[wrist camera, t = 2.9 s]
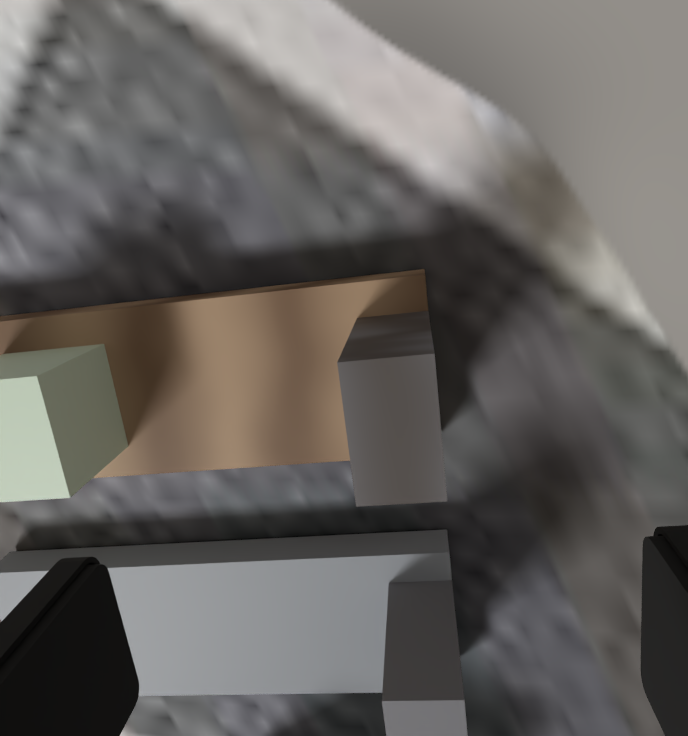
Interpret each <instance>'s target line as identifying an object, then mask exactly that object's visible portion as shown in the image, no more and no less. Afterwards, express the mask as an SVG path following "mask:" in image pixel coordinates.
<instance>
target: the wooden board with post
mask: <svg viewBox="0 0 688 736" xmlns="http://www.w3.org/2000/svg"><path fill="white" fill-rule="evenodd" d="M97 344H104V346H105V350H106V354H107V358H108V362H109V367H110V371H111V375H112V379H113V383H114V388H115V392H116V396H117V400H118V404H119V409H120V413H121V417H122V421H123V425H124V430H125V434H126V438H127V442H128V447H127V448H126V449H125V450H124V451H122V452H121V453H120V454H119V455H118V456H117V457H116V458H115V459H113V460H112V461H111V462H110V463H109V464H108V465H107V466H106V467H104V468H103V469H102V470H101V471H100V472H99V473H98V474H96V475H95V476H94V477H93V478H100V477H115V476H129V475H144V474H159V473H173V472H188V471H203V470H217V469H232V468H247V467H261V466H276V465H291V464H305V463H320V462H334V461H349V460H350V464H351V471H352V479H353V486H354V494H355V502H356V507H359V506H377V505H394V504H412V503H429V502H447V491H446V480H445V468H444V457H443V445H442V433H441V422H440V410H439V399H438V387H437V375H436V364H435V353H434V346H433V339H432V332H431V325H430V319H429V312H428V301H427V290H426V278H425V271H424V269H420V270H411V271H402V272H393V273H384V274H375V275H366V276H357V277H348V278H339V279H330V280H321V281H312V282H303V283H294V284H285V285H276V286H267V287H258V288H249V289H240V290H231V291H223V292H214V293H205V294H196V295H187V296H178V297H169V298H160V299H151V300H142V301H133V302H124V303H115V304H106V305H97V306H88V307H79V308H70V309H61V310H52V311H43V312H34V313H25V314H16V315H7V316H0V355H2V354H8V353H18V352H28V351H38V350H48V349H57V348H67V347H77V346H87V345H97Z"/></svg>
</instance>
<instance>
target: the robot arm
mask: <svg viewBox="0 0 688 736" xmlns="http://www.w3.org/2000/svg"><path fill="white" fill-rule="evenodd" d="M641 677H642V683H643V687H644V690H645V693H646V696H647V698H648V700H649V702H650V704H651V706H652V709H653V711H654V713H655V715H656V717H657V719H658V721H659V723H660V726H661V728H662V730H663V732H664V734H665V736H688V525H685V526H665V527H657V528H656V529H655V531H654V536H650V537H645V538H644V541H643V564H642V622H641ZM138 695H139V680H138V676H137V673H136V669H135V665H134V662H133V658H132V654H131V651H130V647H129V643H128V640H127V636H126V633H125V629H124V625H123V622H122V618H121V614H120V611H119V607H118V603H117V600H116V596H115V592H114V589H113V585H112V581H111V578H110V574H109V571H108V568H107V567H106V566H105V565H103V564H100V562H99V561H98V560H97V558H95V557H73V558H63V559H60V560H59V561H58V562H57V563H56V564H55V565H54V566H53V567H52V568H51V569H50V570H49V571H48V572H47V573H46V574H45V576H44V577H43V578H42V579H41V580H40V581H39V582H38V583H37V584H36V585H35V586H34V587H33V588H32V589H31V591H30V592H29V593H28V594H27V595H26V596H25V597H24V598H23V599H22V600H21V601H20V602H19V603H18V604H17V606H16V607H15V608H14V609H13V610H12V611H11V612H10V613H9V614H8V615H7V616H6V617H5V618H4V619H3V621H2V622H1V623H0V736H120V734H121V732H122V730H123V728H124V726H125V724H126V722H127V720H128V718H129V716H130V715H131V713H132V711H133V709H134V707H135V705H136V702H137V699H138Z"/></svg>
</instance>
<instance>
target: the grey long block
mask: <svg viewBox="0 0 688 736" xmlns="http://www.w3.org/2000/svg"><path fill="white" fill-rule="evenodd" d="M73 557H95V558H97V560H98V561H99V562H100V564H103V565H105V566H106V567H107V568H108V571H109V574H110V578H111V581H112V585H113V589H114V592H115V596H116V600H117V603H118V607H119V611H120V614H121V618H122V622H123V625H124V629H125V633H126V636H127V640H128V643H129V647H130V651H131V654H132V658H133V662H134V665H135V669H136V673H137V676H138V680H139V695H138V696H169V695H244V694H320V693H382V706H383V714H384V722H385V729H386V736H468V735H467V724H466V712H465V700H464V691H463V681H462V672H461V662H460V653H459V643H458V634H457V624H456V615H455V605H454V596H453V586H452V576H451V564H450V553H449V543H448V534H447V530H427V531H407V532H388V533H368V534H348V535H329V536H309V537H289V538H270V539H250V540H230V541H210V542H191V543H171V544H151V545H132V546H112V547H92V548H73V549H53V550H33V551H14V552H9V553H8V554H7V555H6V556H5V557H4V558H3V559H2V560H0V619H1V622H2V621H3V619H4V618H5V617H6V616H7V615H8V614H9V613H10V612H11V611H12V610H13V609H14V608H15V607H16V606H17V604H18V603H19V602H20V601H21V600H22V599H23V598H24V597H25V596H26V595H27V594H28V593H29V592H30V591H31V589H32V588H33V587H34V586H35V585H36V584H37V583H38V582H39V581H40V580H41V579H42V578H43V577H44V576H45V574H46V573H47V572H48V571H49V570H50V569H51V568H52V567H53V566H54V565H55V564H56V563H57V562H58V561H59V560H60V559H63V558H73Z"/></svg>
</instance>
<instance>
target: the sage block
mask: <svg viewBox="0 0 688 736" xmlns="http://www.w3.org/2000/svg"><path fill="white" fill-rule="evenodd" d="M127 447H128V442H127V438H126V434H125V430H124V425H123V421H122V417H121V413H120V409H119V404H118V400H117V396H116V392H115V388H114V383H113V379H112V375H111V371H110V367H109V362H108V358H107V354H106V350H105V346H104V344H97V345H87V346H77V347H67V348H57V349H48V350H38V351H28V352H18V353H8V354H2V355H0V502H11V501H27V500H43V499H58V498H70V497H72V496H73V495H74V494H75V493H76V492H77V491H78V490H80V489H81V488H82V487H83V486H84V485H85V484H86V483H87V482H89V481H90V480H91V479H92V478H93V477H94V476H95V475H96V474H98V473H99V472H100V471H101V470H102V469H103V468H104V467H106V466H107V465H108V464H109V463H110V462H111V461H112V460H113V459H115V458H116V457H117V456H118V455H119V454H120V453H121V452H122V451H124V450H125V449H126V448H127Z"/></svg>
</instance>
